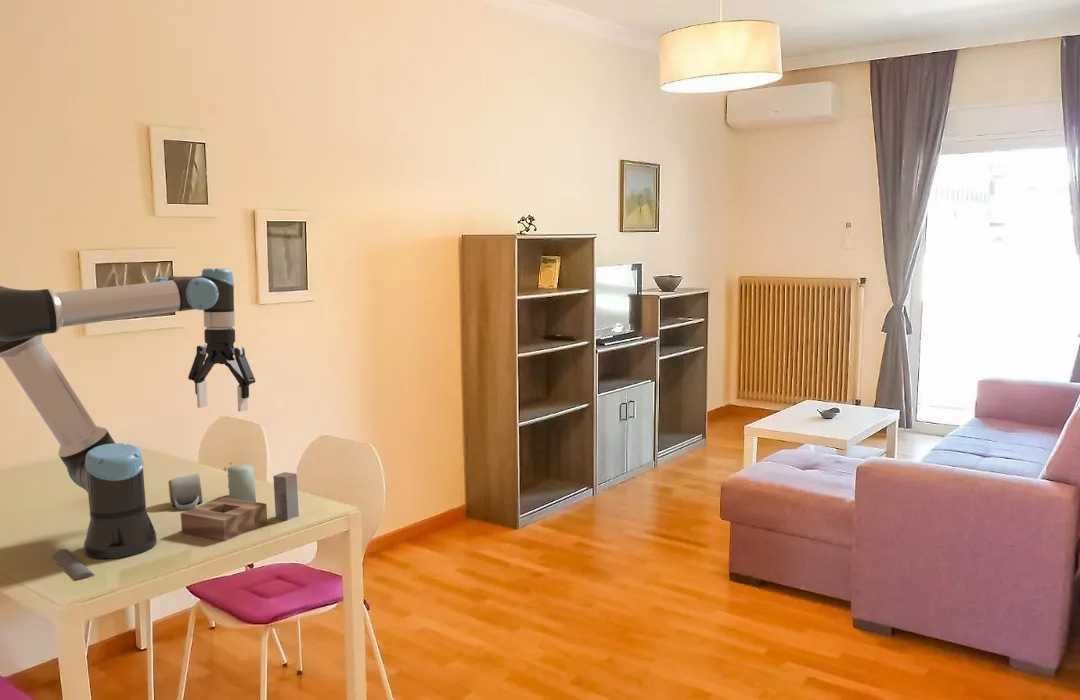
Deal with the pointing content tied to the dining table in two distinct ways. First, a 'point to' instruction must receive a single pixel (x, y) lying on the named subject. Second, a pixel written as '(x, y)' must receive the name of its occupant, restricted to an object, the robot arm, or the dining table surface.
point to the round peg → (242, 482)
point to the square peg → (286, 495)
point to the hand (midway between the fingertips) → (222, 408)
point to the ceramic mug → (185, 491)
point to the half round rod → (71, 564)
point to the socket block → (224, 518)
